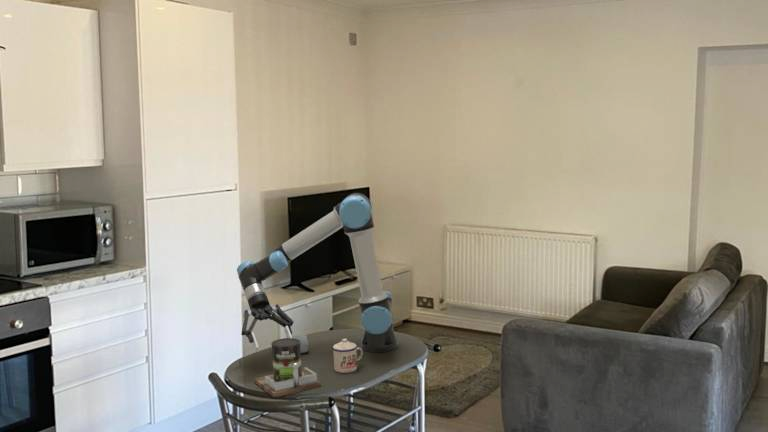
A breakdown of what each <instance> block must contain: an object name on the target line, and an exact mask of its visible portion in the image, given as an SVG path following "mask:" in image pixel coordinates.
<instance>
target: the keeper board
mask: <svg viewBox="0 0 768 432" xmlns="http://www.w3.org/2000/svg"><path fill="white" fill-rule="evenodd" d="M265 376H266V375H264V376H261V377H256V378H254V384H255V385H257V384H258V385H259V386H258V385H257V386H258V387H260V388H261V389H262V388H263V389H264V390H263V389H262V390H263V391H264V392H266V393H267V394H269V395H270V396H271V397H273V398H277V397H281V396H285V395H286V396H287V395H291V394H294V393H299V392H303V391H307V390H311V389H316V388H320V387H322V382H321V381H319V379H317V382H316V383H311V384H307V385H303V386H299V387H298V388H290V389H285V390H281V391H277V392H275V391H273V390H272V389H271V388H269V387H268V386H267V385H265ZM268 376H269V377H270V378H271V379H273V380H274V375H273V374H269V375H268ZM302 376H304V369H302Z"/></svg>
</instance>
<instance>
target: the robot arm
mask: <svg viewBox="0 0 768 432" xmlns="http://www.w3.org/2000/svg"><path fill="white" fill-rule="evenodd" d="M374 228H375V225H374V219H373V215H372V202H371V201H370V199H369V198H368V197H367V196H366V195H365V194H363V193H361V192H353V193H350V194H348V195H347V196H346V197H345V198H344V199H343V200H342V201H341V202H340V203H337V205H335V206H334V207H333V210H332V211H331V212H329V213H327V214H326V215H325V216H323V217H321V218H320V219H318V220H317V221H315V222H313V223H312V224H311V225H309V226H307V227H306V228H304V229H303V230H301V231H300V232H299V233H297V234H295V235H294V236H293V237H290V238H289V239H288V240H287V241H284V242H283V243H282V244H280V245H279V246H277V247H275V248H273V249H271V250H270V251H269V253H268V254H267V255H266V256H265V257H263V259H260V260H258V261H257V262H254V261H251V260H250V261H249V260H247V261H245V262H242V263H240V264H239V265H238V266H237V269H236V273H237V275H238V280H239V282H240V284H241V287H242V289H243V292H244V296H245V298H246V301H247V304H248V307H249V309H250V310H248V309H245V310H244V311H243V324H242V328H241V333H240V334H241V336H245V337H246V338H248V342H249V343H250V344H252V347H253V349H254V351H255V352H257V351H258V350H259V343H258V341H257V339H256V335H255V332H254V331H253V329H254V328H255V327H256V326H255V325H256V323H257V322H258V321H260V322H261V321H264V320H265V321H266V320H268V319H269V320H270V321H274V322H275V323H277V324H278V325H280V327H282V328H284V329H283V330H284V333H285V336H286V338H292V336H293V335H292V334H293V331H292V326H293V325H294V320H293V319H292V318H291V317H290V316H289V315H288V314H287V313H286V312H284V311H283V310H282V308H281V307H280V305H279V304H275V306H271V304H270V301H269V298H268V296H267V292H266V290H265V288H264V285H263V282H264V281H266V280H267V279H269V278H270V277H273V276H274V275H277V274H278V273H280V272H282V271H283V270H285V269H287V268H288V265H289V263H290V262H291V261H293V260H294V259H296V258H297V257H298V256H300V255H302V254H303V253H306V251H308V250H309V249H311V248H313V247H315V246H316V245H318V244H319V243H320V242H322V241H324V240H325V239H327V238H328V237H330V236H331V235H333V234H334V233H336V232H338V231H339V230H340V229H343V232H344V234H345V235H347V236H348V238H349V241H350V246H351V250H352V256H353V261H354V266H355V271H356V276H357V281H358V286H359V291H360V298H359V299H358V305H359V311H360V315H361V317H360V323H361V325H362V327H363V334H362V338H361V340H360V348H361V349H362V351H365V352H369V353H370V352H371V353H385V352H391V351H393V350H396V349H397V348H398V346H399V343H398V342H399V341H398V338H397V336H396V333H395V330H394V326H393V325H394V321H393V320H394V318H393V296H392V293H391V292H390V291H385V290H383V285H382V280H381V274H380V271H379V264H378V260H377V255H376V249H375V245H374V240H373V234H372V231H373V230H374ZM250 315H251V316H252V317H253V320H252V322H251V324H250V325H249V328H247V327H248V326H247V325H248V322H249V317H250ZM252 331H253V332H252Z"/></svg>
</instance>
